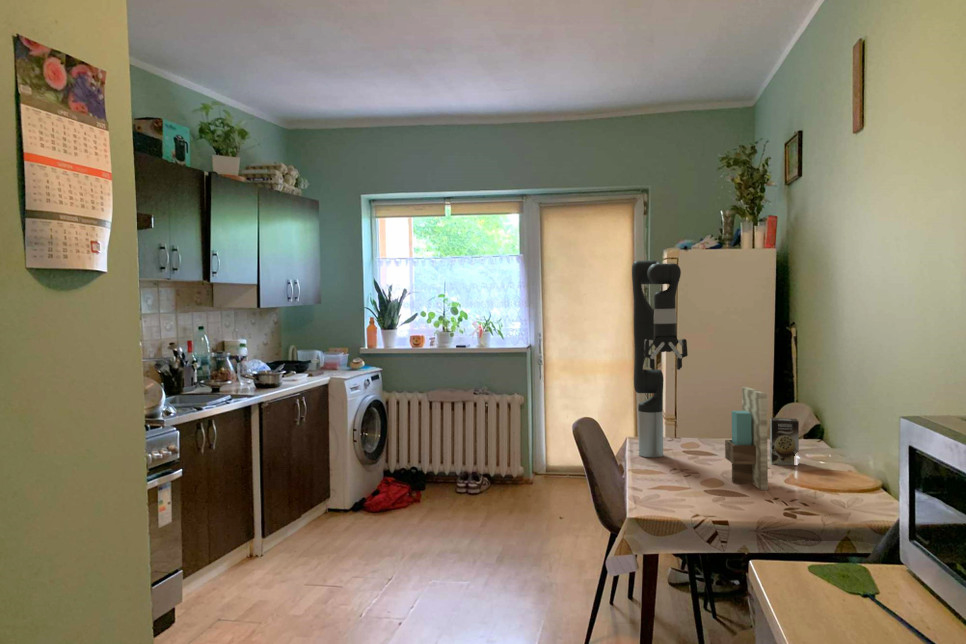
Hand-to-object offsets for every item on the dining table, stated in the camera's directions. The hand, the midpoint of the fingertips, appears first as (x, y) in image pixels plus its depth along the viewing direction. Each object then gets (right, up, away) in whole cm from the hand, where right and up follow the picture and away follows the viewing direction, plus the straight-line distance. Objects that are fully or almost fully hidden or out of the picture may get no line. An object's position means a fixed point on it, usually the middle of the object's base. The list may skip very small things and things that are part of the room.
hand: (665, 369), depth 228 cm
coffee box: (+47, -35, +14) cm, 60 cm away
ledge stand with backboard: (+22, -36, -11) cm, 43 cm away
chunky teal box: (+22, -28, -11) cm, 37 cm away
